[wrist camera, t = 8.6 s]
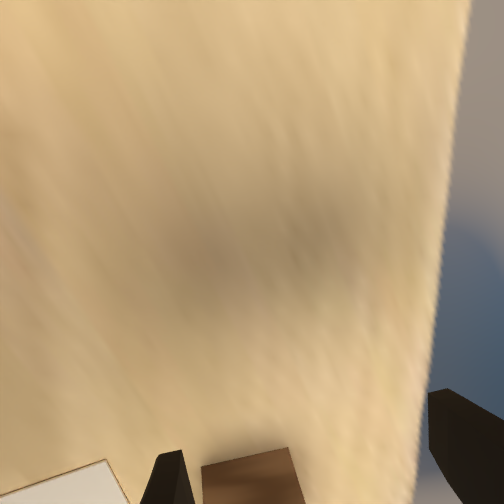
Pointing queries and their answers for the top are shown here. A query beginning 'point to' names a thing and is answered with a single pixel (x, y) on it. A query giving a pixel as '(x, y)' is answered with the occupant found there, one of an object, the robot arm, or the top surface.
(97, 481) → the page
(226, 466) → the walnut block
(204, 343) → the top surface
